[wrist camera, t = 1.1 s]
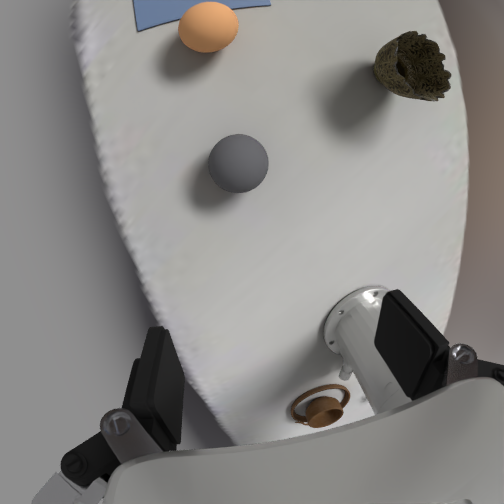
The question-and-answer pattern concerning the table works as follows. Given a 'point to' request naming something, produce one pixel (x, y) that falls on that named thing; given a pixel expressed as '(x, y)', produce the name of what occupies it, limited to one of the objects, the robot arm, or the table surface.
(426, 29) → the table surface
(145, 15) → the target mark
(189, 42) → the orange ball
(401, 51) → the brown round vessel
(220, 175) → the gray ball
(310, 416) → the place setting
